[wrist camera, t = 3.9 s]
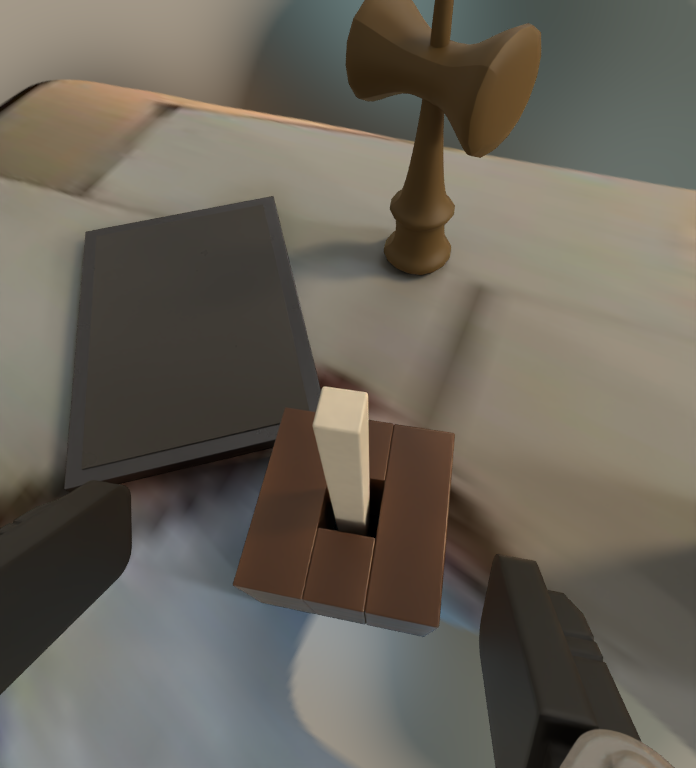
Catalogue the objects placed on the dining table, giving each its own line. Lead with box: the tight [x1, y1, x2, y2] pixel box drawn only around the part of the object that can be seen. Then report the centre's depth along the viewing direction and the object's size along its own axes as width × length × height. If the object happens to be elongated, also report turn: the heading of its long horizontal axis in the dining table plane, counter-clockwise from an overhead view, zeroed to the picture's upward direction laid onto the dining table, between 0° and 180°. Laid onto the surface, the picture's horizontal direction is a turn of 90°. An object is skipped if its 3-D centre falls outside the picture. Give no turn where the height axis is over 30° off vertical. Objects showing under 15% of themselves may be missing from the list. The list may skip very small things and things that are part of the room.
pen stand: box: [233, 408, 455, 637], centre depth 24 cm, size 9×9×6 cm
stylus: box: [313, 387, 371, 537], centre depth 20 cm, size 1×1×15 cm
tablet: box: [64, 196, 321, 492], centre depth 34 cm, size 16×23×1 cm
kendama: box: [346, 0, 541, 275], centre depth 29 cm, size 6×10×20 cm, turn 46°
